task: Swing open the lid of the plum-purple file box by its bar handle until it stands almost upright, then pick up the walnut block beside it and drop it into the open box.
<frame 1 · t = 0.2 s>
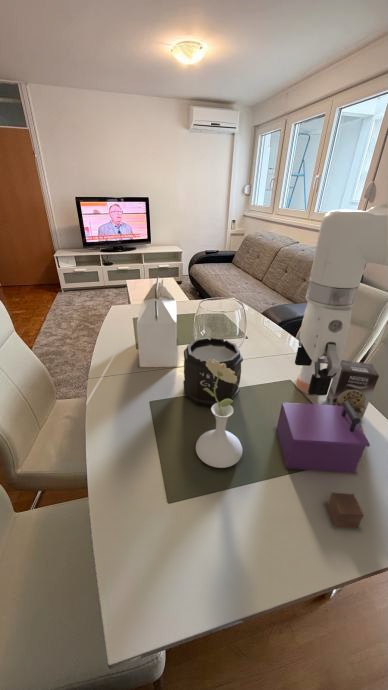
hand: (309, 378, 57), 26 cm above the table, tool pointing down, fingers open, 9 cm apart
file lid: (324, 416, 69), point 11 cm above the table, hinge at 0.0°
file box: (312, 450, 75), on the table
pepper shaker: (306, 387, 98), on the table
flower in vase: (216, 451, 74), on the table
black pot: (210, 391, 95), on the table
block: (341, 517, 60), on the table
gable box: (159, 352, 116), on the table
coffee box: (342, 413, 88), on the table
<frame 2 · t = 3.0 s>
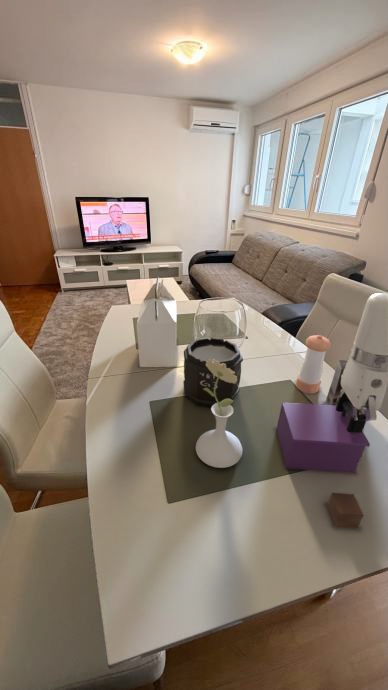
hand: (348, 420, 70), 10 cm above the table, tool pointing down, fingers closed on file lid, 6 cm apart
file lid: (324, 416, 69), point 11 cm above the table, hinge at 0.0°, touching gripper
everything else where it was.
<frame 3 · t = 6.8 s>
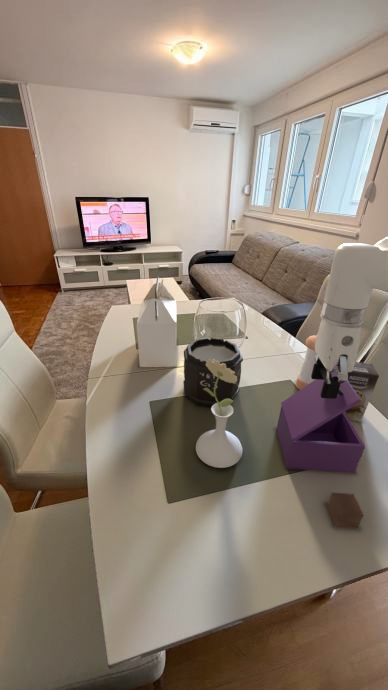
hand: (323, 387, 66), 20 cm above the table, tool pointing down, fingers closed on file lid, 6 cm apart
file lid: (310, 396, 67), point 17 cm above the table, hinge at 47.5°, touching gripper
everything else where it was.
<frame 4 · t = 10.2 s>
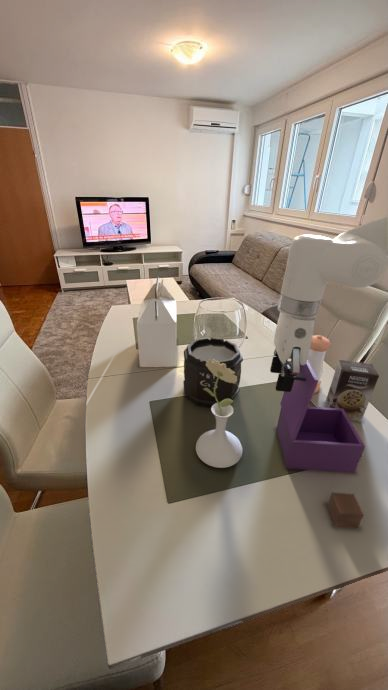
hand: (280, 380, 66), 21 cm above the table, tool pointing down, fingers closed on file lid, 6 cm apart
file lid: (287, 392, 67), point 18 cm above the table, hinge at 84.6°, touching gripper
everything else where it was.
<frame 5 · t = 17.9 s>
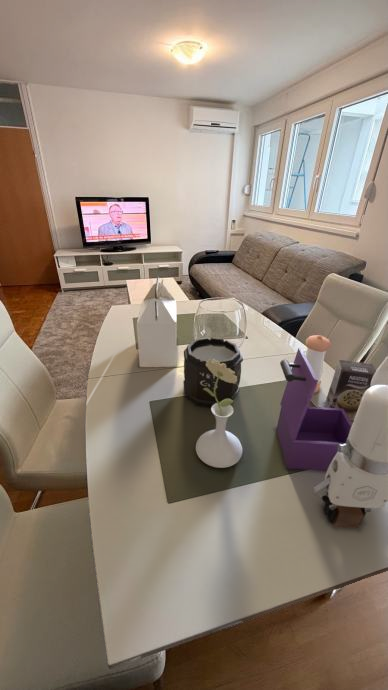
hand: (341, 516, 60), 0 cm above the table, tool pointing down, fingers closed on block, 4 cm apart
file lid: (287, 392, 67), point 18 cm above the table, hinge at 84.7°
block: (341, 517, 60), on the table, touching gripper
everything else where it was.
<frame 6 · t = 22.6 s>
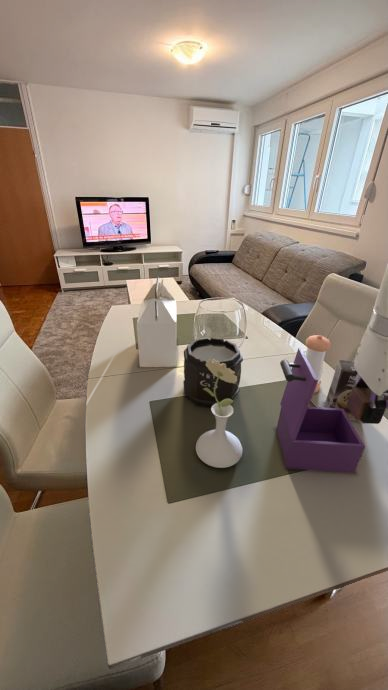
hand: (363, 411, 56), 21 cm above the table, tool pointing down, fingers closed on block, 4 cm apart
block: (362, 413, 56), point 21 cm above the table, touching gripper
everything else where it was.
when the fingers open (8 cm above the table, at t = 27.2 s): block drops 7 cm, resting on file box.
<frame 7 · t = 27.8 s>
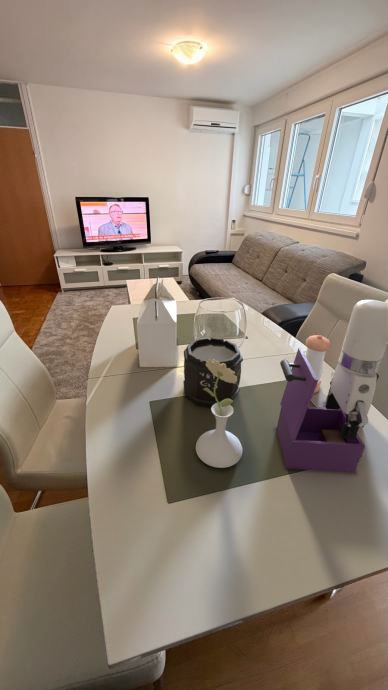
hand: (339, 422, 70), 10 cm above the table, tool pointing down, fingers open, 9 cm apart
block: (329, 449, 74), point 1 cm above the table, touching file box
everything else where it was.
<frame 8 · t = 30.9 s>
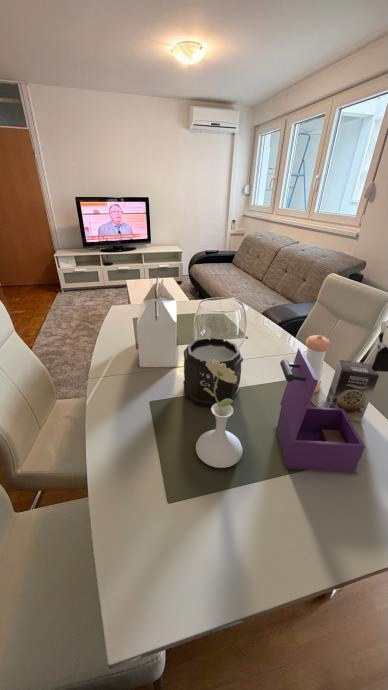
nothing on the table moved.
at the end: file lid at +85° (first picture: +0°); block inside the target area in the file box (4.1 cm from its centre), point 0.8 cm above the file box's base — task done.
